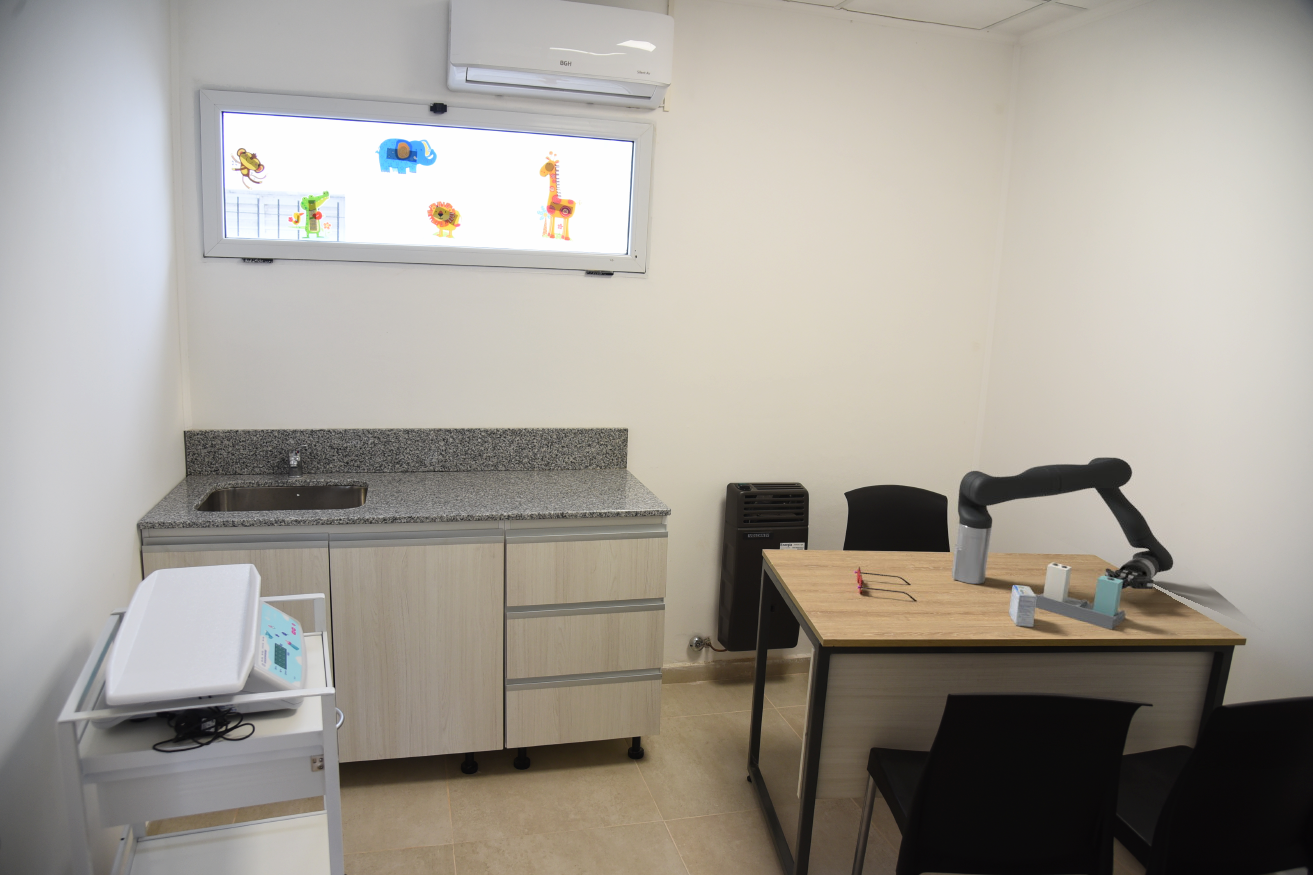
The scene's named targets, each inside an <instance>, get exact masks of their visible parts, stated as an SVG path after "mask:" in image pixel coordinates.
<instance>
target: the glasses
mask: <svg viewBox="0 0 1313 875" xmlns="http://www.w3.org/2000/svg"><path fill="white" fill-rule="evenodd" d="M854 574H857V575H856V583H858V586H857V589H858V590H859V592H858V593H859V595H860V594H861V592H862V589H864V590H873V591H882V592H889V593H890V592H891V593H892V592H893V593H898V594H899V593H900V594H905V595H906V596H908V597H909V598H910V599H911V600H912V601H914V602H918V600H917V599H916V598H914V597H913V596H912V595H911V594H909V593H907V592H905V591H900V590H892V589H882V588H873V587H865V586H863V575H871V576H880V577H881V576H882V577H890V578H898V579H899V580H902V581H903V582H904V583H906V584H907V585H908V586H911V584H912V583H910V582H908V581H907V580H905V579H904V578H903V577H900V576H898V575H890V574H889V575H888V574H883V573H882V574H881V573H873V572H871V573H870V572H863V571H862V570H861V567H860V566H859V567H858V569H857V570H855V571H854Z"/></svg>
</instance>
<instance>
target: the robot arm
mask: <svg viewBox="0 0 1313 875" xmlns="http://www.w3.org/2000/svg"><path fill="white" fill-rule="evenodd" d="M1132 476H1133V470H1132V467H1131V465H1130V464H1129V463H1128V462H1127V461H1125V460H1124V459H1121V458H1120V457H1119V458H1118V457H1106V456H1105V457H1095V458H1093V459H1091V460H1090V461H1089V462H1088V463H1086V464H1075V463H1074V464H1069V463H1067V464H1066V463H1065V464H1062V463H1061V464H1059V463H1058V464H1046V465H1037V466H1034V467H1030V468H1027V469H1026V470H1024V471H1023V472H1020V473H1018V474H1016V475H1011V476H1010V475H1009V476H1008V475H1007V476H1006V475H1005V476H993V475H990V474H987V473H985V472H984V471H983V472H982V471H980V470H971V471H968V472H967V473H966V474H965V475H964V476H963V477H962V478H961V481H960V484H959V488H958V499H957V500H958V501H957V513H958V517H959V520H958V521H959V522H958V528H957V536H956V544H955V546H954V553H953V561H952V570H951V576H952V578H953V580H955V581H959V582H961V583H967V584H974V585H975V584H976V585H978V584H979V585H981V584H984V583H985V580H986V574H987V564H988V557H989V549H990V541H991V534H992V527H993V517H992V516H991V514H990V513H989V510H988V507H989V506H994V505H998V504H1001V503H1005V502H1009V501H1010V502H1011V501H1014V500H1021V499H1032V498H1040V497H1041V498H1043V497H1044V498H1045V497H1051V496H1058V495H1064V494H1069V493H1075V492H1078V491H1082V490H1087V489H1088V490H1090V489H1095V490H1096V492H1097V493H1098V495H1100V497H1101V499H1102V500H1103V501H1104V503H1105V504H1106V505H1107V507H1108V508H1109V510H1110V511H1111V513H1112V514H1113V515H1114V517H1115V519H1116V521H1117V523H1118V524H1119V526H1120V528H1121V531H1123V534H1124V537H1125V538H1126V540H1127V542H1128V543H1129V546H1131V547H1133V548H1134V549H1146V550H1144V551H1139V552H1137V553H1134V554H1133V555H1132V559H1130V560H1129V561H1127V562H1126V563H1124V564H1123V565H1121V567H1119V569H1115V570H1111V569H1110V568H1105V571H1104V572H1105V573H1104V576H1108V577H1112V578H1116V579H1120V580H1123V584H1122V590H1124V589H1128V588H1131V589H1134V590H1153V588H1154V584H1155V583H1154V580H1153V578H1154V577H1156V575H1157V574H1158V573H1163V572H1168V571H1170V570H1171V569H1172V568H1173V565H1174V559H1173V556H1172V554H1171V553H1170V552H1169V551H1168V550H1167V549H1166V547H1165V546H1164V545H1163V544H1161V542H1160V541H1159V540H1158V538H1156V536H1155V535H1154V533H1153V532H1152V530H1151V528H1150V526H1149V524H1148V522H1147V520H1146V518H1145V517H1144V515H1143V514H1142V512H1140V510H1138V508H1136V506H1135V505H1133V503H1132V502H1130V500H1129V499H1128V498H1127V497H1126V496H1125V494H1124V493H1123V491H1122V490H1121V487H1123V486H1125V485H1126V484H1128V482H1129V481H1130V480H1131V478H1132Z"/></svg>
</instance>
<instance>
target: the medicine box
mask: <svg viewBox="0 0 1313 875" xmlns="http://www.w3.org/2000/svg"><path fill="white" fill-rule="evenodd" d="M1035 594H1036V593H1035V592H1033V590H1032V588H1031V587H1030V586H1027V585H1017V584H1014V585H1012V588H1011V595H1010V604H1009V610H1008V611H1009V612H1008V614H1009V616H1010V617H1011V619H1012V622H1014V624H1015V626H1016V627H1025V628H1026V627H1027V628H1033V627H1034V620H1035V615H1036V599H1037V597H1036V595H1035Z"/></svg>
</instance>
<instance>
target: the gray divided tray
mask: <svg viewBox="0 0 1313 875" xmlns="http://www.w3.org/2000/svg"><path fill="white" fill-rule="evenodd" d="M1034 594H1035V595H1036V597H1037V599H1036V607H1035V609H1041V610H1043V611H1048V612H1050V613H1054V614H1057V615H1061V616H1064V617H1066V618H1070V619H1074V620H1077V621H1080V622H1084V623H1087V624H1091V625H1093V626H1097V627H1101V628H1104V629H1108V630H1112V631H1113V629H1115V627H1116V626H1118V625H1119V624H1121V623H1122V622H1123V621H1124V620H1125V619H1126V614H1127V613H1126V611H1125V610H1124V609H1122V610H1120V611H1119V610H1118V614H1117V615H1116V616H1114V617H1113V616H1110V615H1106V614H1103V613H1099V612H1096V611H1093V607H1094V603H1092V602H1091V603H1090V602H1089V601H1088V600H1087V599H1085V598H1083V599H1082V600H1079V599H1077V598H1073V597H1070V596H1067V601H1066V602H1061V601H1057V600H1054V599H1051V598H1047V597H1044V596H1043V595H1044V592H1043V593H1041V594H1036V593H1034Z"/></svg>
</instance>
